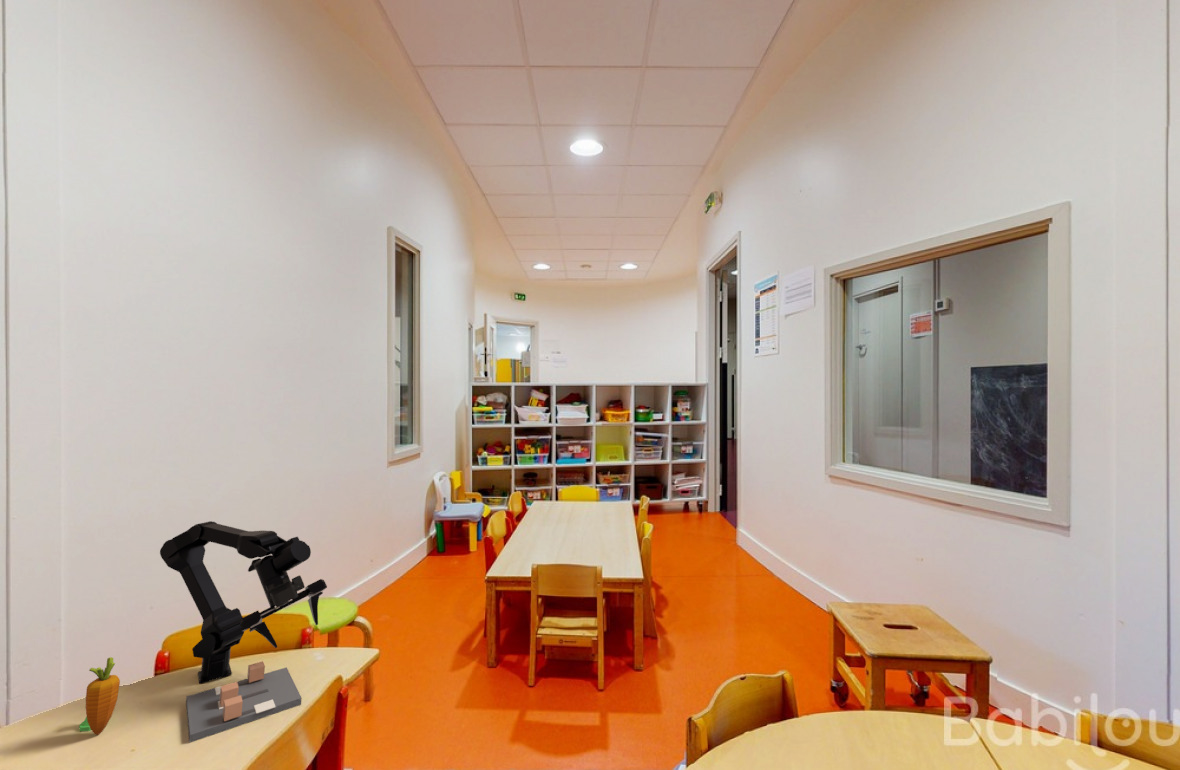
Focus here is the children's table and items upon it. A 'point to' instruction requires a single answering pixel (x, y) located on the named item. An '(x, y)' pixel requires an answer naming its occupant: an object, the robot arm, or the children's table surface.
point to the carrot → (101, 697)
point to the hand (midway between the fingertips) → (297, 635)
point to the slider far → (256, 671)
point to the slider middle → (228, 692)
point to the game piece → (84, 725)
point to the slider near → (232, 708)
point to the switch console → (257, 703)
